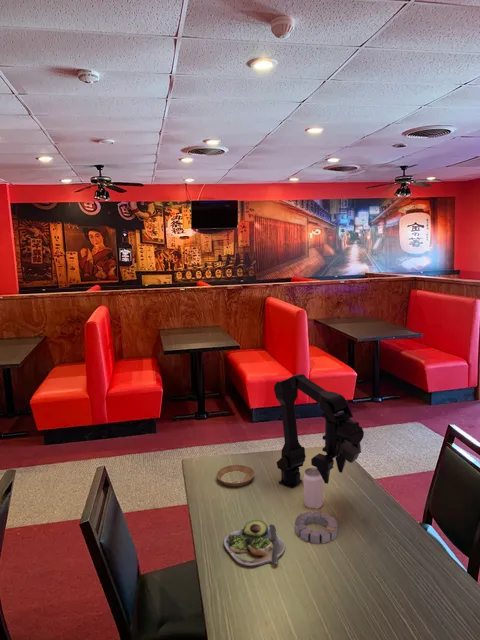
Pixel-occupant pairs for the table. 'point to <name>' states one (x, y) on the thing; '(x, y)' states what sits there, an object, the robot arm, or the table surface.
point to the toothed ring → (316, 535)
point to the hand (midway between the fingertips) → (333, 477)
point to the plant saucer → (241, 468)
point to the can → (313, 488)
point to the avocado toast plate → (255, 543)
